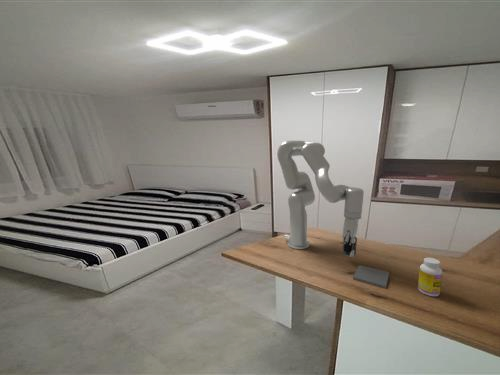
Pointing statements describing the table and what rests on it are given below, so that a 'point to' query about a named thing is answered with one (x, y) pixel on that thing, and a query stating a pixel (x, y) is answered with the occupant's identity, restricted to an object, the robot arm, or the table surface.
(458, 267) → the table surface
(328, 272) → the table surface
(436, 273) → the supplement bottle
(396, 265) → the table surface
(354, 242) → the pill bottle
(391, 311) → the table surface
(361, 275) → the plate
